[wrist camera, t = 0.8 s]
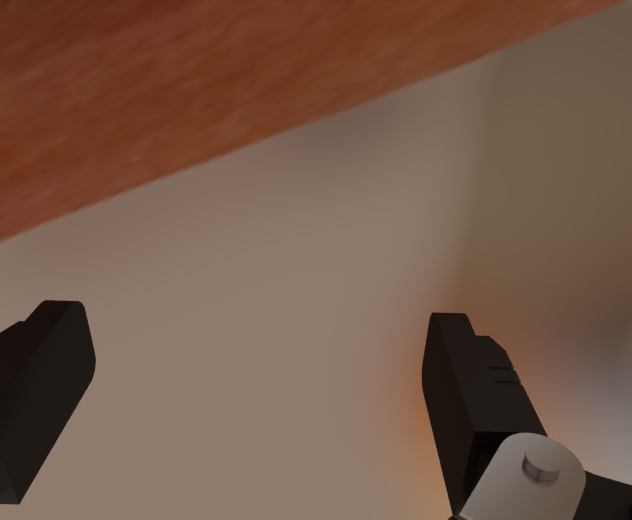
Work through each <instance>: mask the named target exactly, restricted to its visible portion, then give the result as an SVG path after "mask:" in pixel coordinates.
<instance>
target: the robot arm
mask: <svg viewBox="0 0 632 520" xmlns="http://www.w3.org/2000/svg"><path fill="white" fill-rule="evenodd" d="M95 364H96V358H95V352H94V347H93V343H92V338H91V334H90V329H89V325H88V320H87V316H86V312H85V308H84V306H83V304H82V303H81V302H79V301H54V300H45V301H43V302H42V303H41V304H39V306H38V307H37V308H36V309H35V310H34V311H33V313H32V314H31V315H30V316H29V317H28V318H27V319H26V320H25V321H19V322H17V323H15V324H14V325H12V326H10V327H9V328H7V329H6V330H4V331H2V332H1V333H0V504H20V502H21V500H22V499H23V497H24V495H25V494H26V492H27V490H28V489H29V487H30V485H31V483H32V482H33V480H34V478H35V477H36V475H37V473H38V471H39V470H40V468H41V466H42V465H43V463H44V461H45V460H46V458H47V456H48V454H49V452H50V451H51V449H52V448H53V446H54V444H55V443H56V441H57V439H58V437H59V436H60V434H61V432H62V431H63V429H64V427H65V425H66V424H67V422H68V420H69V419H70V417H71V415H72V413H73V412H74V410H75V408H76V407H77V405H78V403H79V401H80V400H81V398H82V396H83V395H84V393H85V391H86V390H87V388H88V386H89V384H90V383H91V381H92V378H93V375H94V371H95ZM520 382H521V381H520V379H519V377H518V375H517V373H516V371H514V367H513V365H512V363H511V361H510V359H509V357H508V355H507V353H506V351H505V350H504V349H503V348H502V347H501V346H500V345H499V344H497V343H496V342H495V341H494V340H493V339H492V338H491V337H490V336H476V335H475V333H474V330H473V328H472V326H471V323H470V321H469V319H468V317H467V315H466V314H464V313H432V314H431V316H430V320H429V326H428V332H427V338H426V345H425V351H424V357H423V364H422V388H423V394H424V398H425V402H426V406H427V410H428V415H429V419H430V423H431V427H432V431H433V435H434V440H435V443H436V448H437V452H438V456H439V460H440V464H441V469H442V473H443V477H444V481H445V485H446V489H447V493H448V497H449V502H450V506H451V510H452V514H453V516H451V517H450V518H449V519H448V520H632V485H629V484H625V483H622V482H618V481H615V480H611V479H607V478H604V477H601V476H598V475H595V474H592V473H590V472H587V471H585V470H584V468H583V466H582V464H581V463H580V461H579V460H578V458H577V457H576V456H575V455H574V454H573V453H572V452H571V451H570V450H569V449H567V448H566V447H565V446H563V445H562V444H560V443H559V442H557V441H555V440H553V439H551V438H548V436H547V434H546V432H545V430H544V428H543V426H542V424H541V422H540V420H539V418H538V416H537V414H536V412H535V410H534V408H533V406H532V404H531V401H530V400H529V397H528V396H527V393H526V391H525V389H524V387H523V386H522V385H521V383H520Z"/></svg>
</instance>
